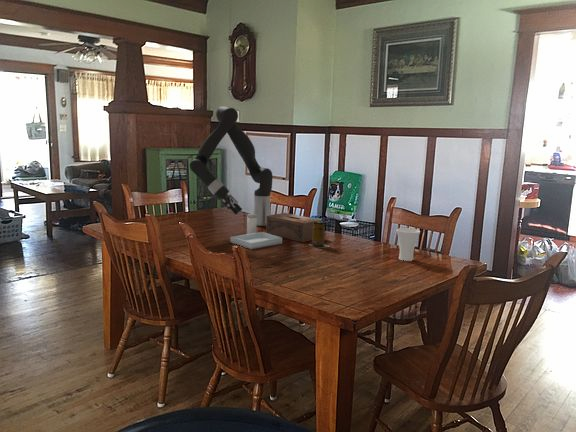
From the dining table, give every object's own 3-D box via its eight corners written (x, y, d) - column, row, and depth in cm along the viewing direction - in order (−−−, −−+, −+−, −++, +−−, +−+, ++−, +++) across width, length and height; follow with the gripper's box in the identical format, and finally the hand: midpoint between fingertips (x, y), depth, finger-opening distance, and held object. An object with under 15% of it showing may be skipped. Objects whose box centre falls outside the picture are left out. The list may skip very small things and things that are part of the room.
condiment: (318, 243, 250) (319, 219, 248) (330, 246, 244) (331, 222, 242) (307, 245, 246) (308, 221, 243) (319, 248, 239) (320, 224, 237)
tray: (261, 237, 258) (261, 231, 257) (282, 243, 247) (282, 237, 246) (230, 242, 244) (230, 236, 244) (250, 249, 233) (250, 243, 233)
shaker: (252, 233, 267) (252, 213, 265) (258, 235, 264) (258, 214, 262) (245, 234, 264) (245, 214, 262) (251, 236, 260) (251, 215, 258)
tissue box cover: (320, 238, 262) (321, 219, 261) (302, 242, 252) (303, 223, 250) (283, 230, 279) (284, 212, 277) (266, 233, 268) (266, 215, 266)
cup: (401, 263, 219) (403, 233, 216) (390, 256, 229) (392, 228, 226) (422, 262, 221) (424, 232, 219) (410, 255, 231) (412, 227, 229)
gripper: (219, 186, 254) (241, 209, 255) (226, 183, 268) (246, 205, 269) (209, 196, 255) (231, 219, 256) (216, 192, 269) (237, 214, 270)
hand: (239, 212), depth 262 cm, fingers open, 8 cm apart
